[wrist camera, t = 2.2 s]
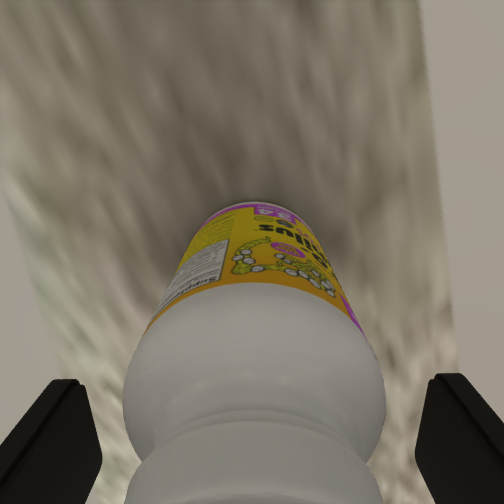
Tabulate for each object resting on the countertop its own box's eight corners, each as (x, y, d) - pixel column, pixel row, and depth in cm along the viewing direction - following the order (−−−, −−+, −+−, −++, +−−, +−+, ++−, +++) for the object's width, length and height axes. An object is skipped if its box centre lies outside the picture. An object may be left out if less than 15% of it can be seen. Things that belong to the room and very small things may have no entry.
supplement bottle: (345, 270, 17) (543, 612, 5) (245, 336, 19) (232, 712, 7) (265, 167, 15) (303, 351, 4) (161, 251, 17) (-52, 573, 5)
